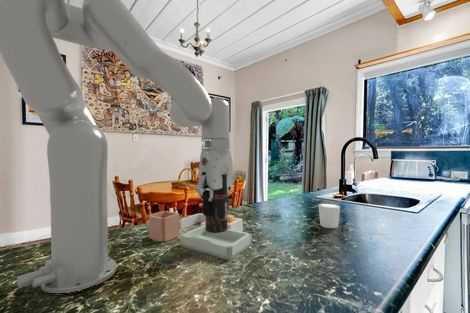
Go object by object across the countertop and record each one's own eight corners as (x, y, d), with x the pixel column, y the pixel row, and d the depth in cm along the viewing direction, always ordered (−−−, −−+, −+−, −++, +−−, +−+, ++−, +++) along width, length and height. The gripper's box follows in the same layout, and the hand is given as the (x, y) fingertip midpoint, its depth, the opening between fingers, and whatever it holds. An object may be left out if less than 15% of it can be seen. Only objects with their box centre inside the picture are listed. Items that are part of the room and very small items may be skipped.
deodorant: (226, 233, 59) (226, 174, 59) (203, 233, 59) (203, 174, 59) (228, 225, 65) (227, 172, 65) (207, 225, 65) (206, 173, 65)
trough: (230, 260, 53) (229, 247, 53) (180, 246, 62) (180, 235, 62) (251, 244, 63) (251, 233, 63) (205, 234, 71) (205, 224, 71)
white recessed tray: (228, 239, 66) (228, 225, 66) (180, 228, 77) (179, 216, 77) (244, 230, 75) (244, 217, 75) (198, 221, 85) (198, 210, 85)
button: (229, 233, 70) (229, 218, 70) (218, 230, 72) (218, 216, 72) (236, 229, 73) (236, 215, 73) (225, 227, 75) (225, 214, 75)
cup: (163, 243, 64) (162, 219, 64) (146, 238, 68) (146, 215, 67) (181, 235, 70) (181, 213, 70) (165, 231, 73) (165, 210, 73)
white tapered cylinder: (336, 222, 82) (336, 203, 82) (343, 229, 75) (343, 207, 75) (316, 222, 83) (316, 203, 83) (321, 228, 76) (321, 207, 76)
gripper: (206, 145, 53) (207, 223, 53) (243, 146, 67) (244, 207, 68) (182, 145, 57) (183, 218, 57) (222, 147, 71) (223, 205, 72)
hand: (216, 212), depth 62 cm, fingers closed on deodorant, 5 cm apart
